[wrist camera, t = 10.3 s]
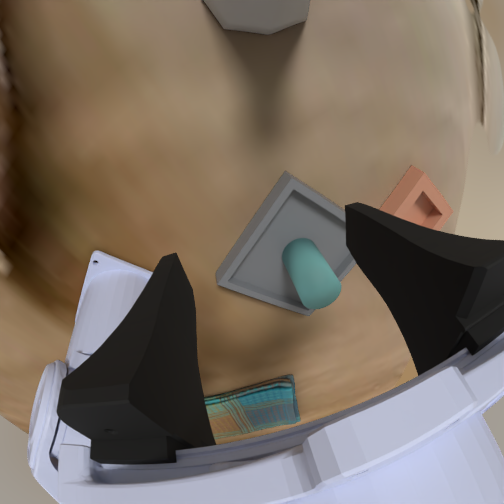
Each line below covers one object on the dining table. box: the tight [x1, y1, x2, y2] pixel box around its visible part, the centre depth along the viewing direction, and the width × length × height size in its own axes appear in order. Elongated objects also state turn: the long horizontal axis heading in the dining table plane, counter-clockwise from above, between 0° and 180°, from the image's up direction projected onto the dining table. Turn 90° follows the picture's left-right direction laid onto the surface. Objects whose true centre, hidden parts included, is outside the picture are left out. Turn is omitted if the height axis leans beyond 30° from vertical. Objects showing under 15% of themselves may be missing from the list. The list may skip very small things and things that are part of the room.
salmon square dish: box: [379, 165, 453, 231], centre depth 23 cm, size 7×7×2 cm
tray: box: [216, 171, 356, 316], centre depth 23 cm, size 10×10×2 cm
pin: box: [282, 238, 341, 309], centre depth 21 cm, size 3×3×5 cm
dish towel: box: [204, 375, 300, 439], centre depth 39 cm, size 17×23×2 cm
